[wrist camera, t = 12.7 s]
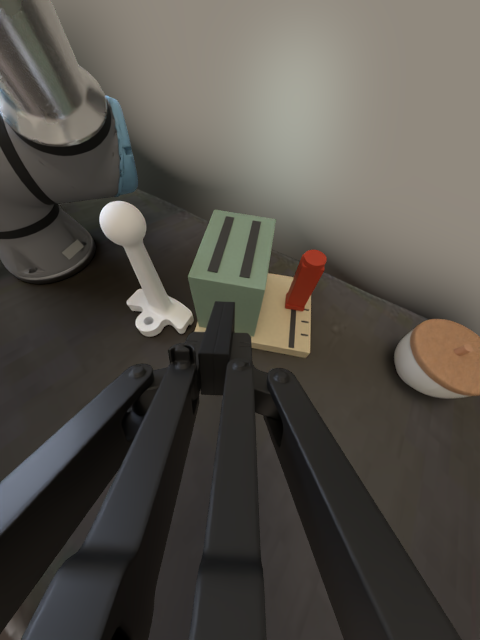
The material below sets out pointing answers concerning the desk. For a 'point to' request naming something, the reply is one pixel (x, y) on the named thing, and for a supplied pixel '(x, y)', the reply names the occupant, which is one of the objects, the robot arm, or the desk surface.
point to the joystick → (143, 272)
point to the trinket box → (440, 359)
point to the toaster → (247, 284)
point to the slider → (305, 279)
